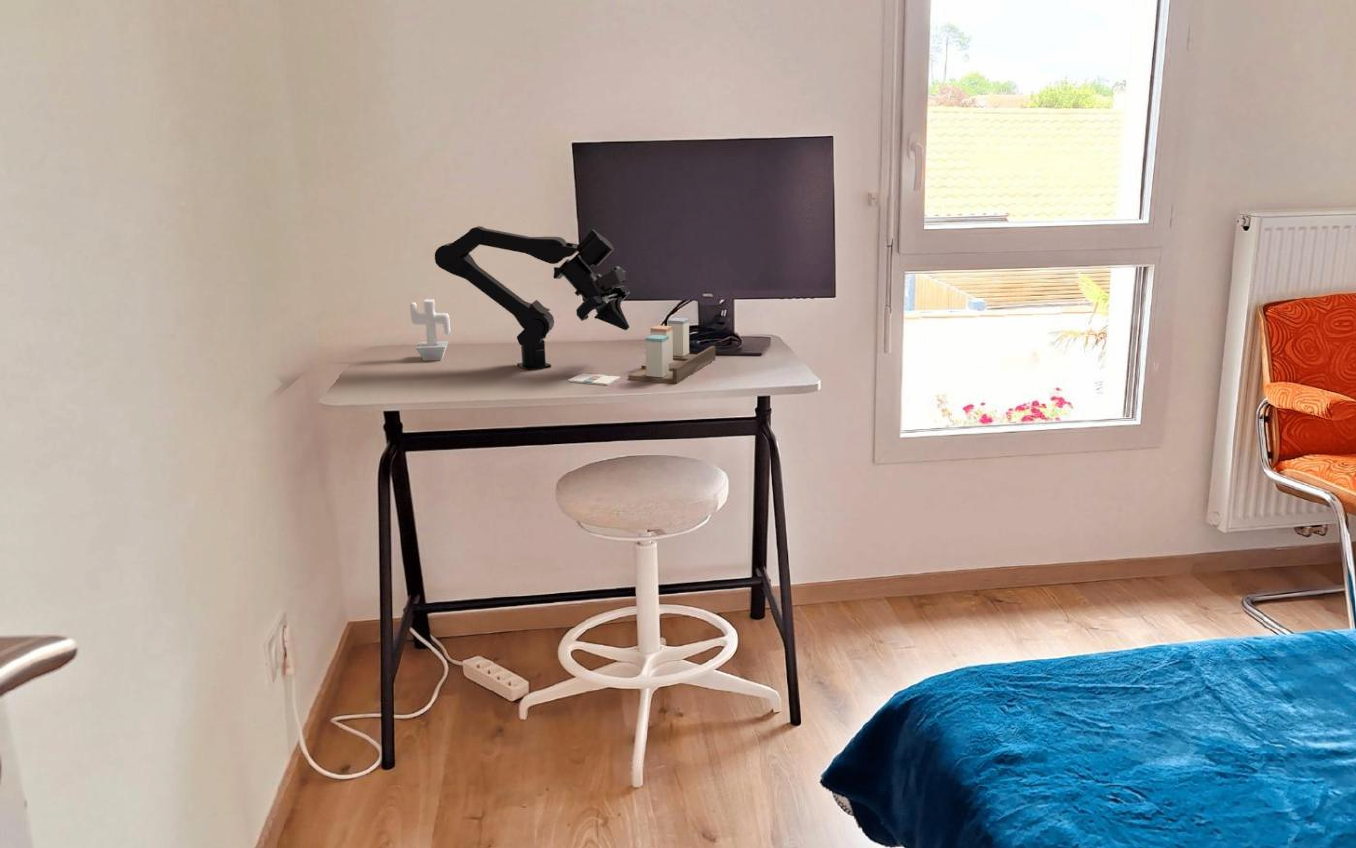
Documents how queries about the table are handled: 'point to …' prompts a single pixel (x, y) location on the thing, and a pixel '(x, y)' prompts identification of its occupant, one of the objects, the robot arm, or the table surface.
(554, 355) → the table surface
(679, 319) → the grey topped white block
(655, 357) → the white tall block
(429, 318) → the figurine
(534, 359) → the robot arm
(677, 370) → the brown divided rack
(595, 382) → the pattern card
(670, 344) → the peach block
